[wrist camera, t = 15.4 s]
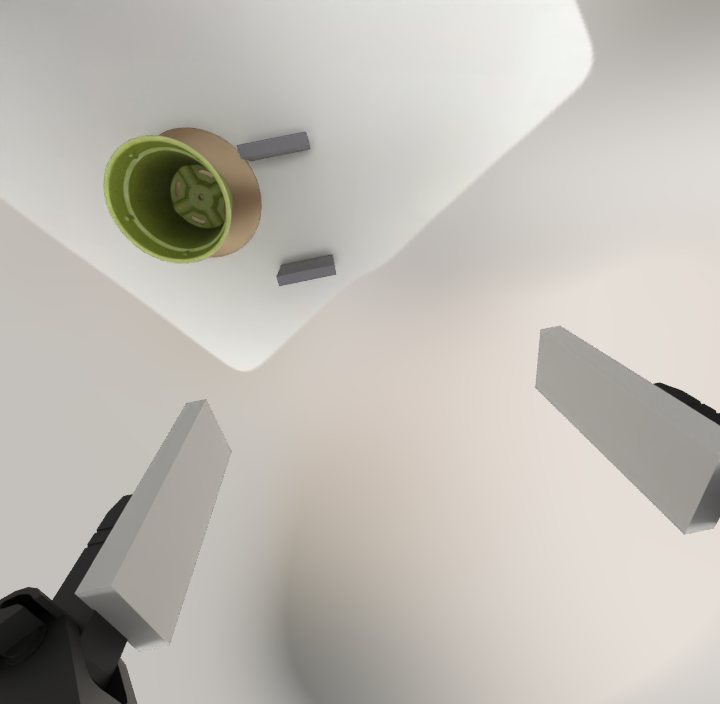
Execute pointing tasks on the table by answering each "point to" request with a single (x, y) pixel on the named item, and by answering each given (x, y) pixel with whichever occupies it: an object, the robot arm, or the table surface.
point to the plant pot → (167, 199)
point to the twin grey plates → (274, 148)
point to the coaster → (235, 176)
